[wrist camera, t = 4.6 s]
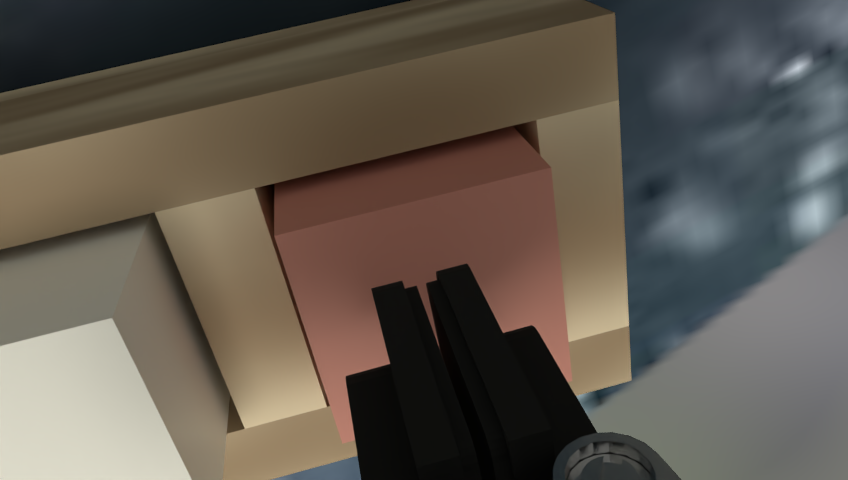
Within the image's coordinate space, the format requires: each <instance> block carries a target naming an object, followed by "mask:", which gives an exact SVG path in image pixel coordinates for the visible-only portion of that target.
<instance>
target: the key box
mask: <svg viewBox="0 0 848 480" xmlns="http://www.w3.org/2000/svg"><path fill="white" fill-rule="evenodd" d="M509 126H513V127H514V128H515V129H516V130H517V131H518V132H519V133H520V134H521V135H522V137H523V138H524V139H525V140H526V141H527V142H528V143H529V144H530V145H531V146H532V147H533V148H534V149H535V150H536V152H537V153H538V154H539V155H540V156H541V157H542V158H543V159H544V160H545V161H546V162H547V163H548V164H549V165H550V167H551V170H552V180H553V190H554V200H555V210H556V220H557V230H558V240H559V250H560V261H561V271H562V281H563V291H564V301H565V311H566V321H567V331H568V341H569V351H570V362H571V372H572V381H571V382H568V384H569V385H570V387H571V389H572V390H573V392H574V394H575V396H577V395H580V394H584V393H588V392H591V391H595V390H599V389H602V388H606V387H609V386H613V385H617V384H620V383H624V382H628V381H631V360H630V338H629V315H628V293H627V271H626V249H625V226H624V204H623V182H622V159H621V137H620V115H619V93H618V70H617V48H616V26H615V13H614V12H612V11H610V10H607V9H605V8H602V7H600V6H597V5H595V4H593V3H590V2H588V1H585V0H411V1H407V2H402V3H398V4H393V5H389V6H385V7H380V8H376V9H371V10H367V11H362V12H358V13H353V14H349V15H345V16H340V17H336V18H331V19H327V20H322V21H318V22H314V23H309V24H305V25H300V26H296V27H291V28H287V29H282V30H278V31H274V32H269V33H265V34H260V35H256V36H251V37H247V38H243V39H238V40H234V41H229V42H225V43H220V44H216V45H212V46H207V47H203V48H198V49H194V50H189V51H185V52H180V53H176V54H172V55H167V56H163V57H158V58H154V59H149V60H145V61H141V62H136V63H132V64H127V65H123V66H118V67H114V68H109V69H105V70H101V71H96V72H92V73H87V74H83V75H78V76H74V77H70V78H65V79H61V80H56V81H52V82H47V83H43V84H38V85H34V86H30V87H25V88H21V89H16V90H12V91H7V92H3V93H0V250H1V249H6V248H10V247H14V246H18V245H22V244H26V243H30V242H34V241H39V240H43V239H47V238H51V237H55V236H59V235H63V234H67V233H72V232H76V231H80V230H84V229H88V228H92V227H96V226H101V225H105V224H109V223H113V222H117V221H121V220H125V219H129V218H134V217H138V216H142V215H146V214H150V213H154V212H155V215H156V217H157V220H158V222H159V224H160V227H161V229H162V232H163V234H164V236H165V239H166V241H167V244H168V246H169V248H170V251H171V253H172V255H173V258H174V260H175V263H176V265H177V267H178V270H179V272H180V275H181V277H182V279H183V282H184V284H185V287H186V289H187V291H188V294H189V296H190V299H191V301H192V303H193V306H194V308H195V311H196V313H197V315H198V318H199V320H200V323H201V325H202V327H203V330H204V332H205V335H206V337H207V339H208V342H209V344H210V347H211V349H212V351H213V354H214V356H215V359H216V361H217V363H218V366H219V368H220V370H221V373H222V375H223V378H224V380H225V382H226V385H227V387H228V390H229V392H230V402H229V413H228V424H227V436H226V447H225V458H224V469H223V480H271V479H274V478H278V477H282V476H285V475H289V474H292V473H296V472H300V471H303V470H307V469H311V468H314V467H318V466H322V465H325V464H329V463H333V462H336V461H340V460H343V459H347V458H351V457H354V456H358V455H357V449H356V442H355V440H354V441H351V442H347V443H343V444H342V441H341V438H340V435H339V432H338V429H337V426H336V423H335V420H334V417H333V414H332V410H331V407H330V404H329V401H328V398H327V395H326V392H325V389H324V386H323V383H322V380H321V377H320V374H319V371H318V368H317V365H316V362H315V359H314V356H313V353H312V350H311V347H310V344H309V340H308V337H307V334H306V331H305V328H304V325H303V322H302V319H301V316H300V313H299V310H298V307H297V304H296V301H295V298H294V295H293V292H292V289H291V286H290V283H289V280H288V277H287V274H286V270H285V267H284V264H283V261H282V258H281V255H280V252H279V249H278V246H277V243H276V240H275V237H274V193H275V183H278V182H282V181H286V180H291V179H295V178H299V177H303V176H307V175H311V174H315V173H319V172H324V171H328V170H332V169H336V168H340V167H344V166H348V165H352V164H357V163H361V162H365V161H369V160H373V159H377V158H381V157H386V156H390V155H394V154H398V153H402V152H406V151H410V150H414V149H419V148H423V147H427V146H431V145H435V144H439V143H443V142H448V141H452V140H456V139H460V138H464V137H468V136H472V135H476V134H481V133H485V132H489V131H493V130H497V129H501V128H505V127H509Z"/></svg>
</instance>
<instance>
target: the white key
mask: <svg viewBox="0 0 848 480" xmlns="http://www.w3.org/2000/svg"><path fill="white" fill-rule="evenodd" d="M229 402H230V392H229V390H228V387H227V385H226V382H225V380H224V378H223V375H222V373H221V370H220V368H219V366H218V363H217V361H216V359H215V356H214V354H213V351H212V349H211V347H210V344H209V342H208V339H207V337H206V335H205V332H204V330H203V327H202V325H201V323H200V320H199V318H198V315H197V313H196V311H195V308H194V306H193V303H192V301H191V299H190V296H189V294H188V291H187V289H186V287H185V284H184V282H183V279H182V277H181V275H180V272H179V270H178V267H177V265H176V263H175V260H174V258H173V255H172V253H171V251H170V248H169V246H168V244H167V241H166V239H165V236H164V234H163V232H162V229H161V227H160V224H159V222H158V220H157V217H156V215H155V212H154V213H150V214H146V215H142V216H138V217H134V218H129V219H125V220H121V221H117V222H113V223H109V224H105V225H101V226H96V227H92V228H88V229H84V230H80V231H76V232H72V233H67V234H63V235H59V236H55V237H51V238H47V239H43V240H39V241H34V242H30V243H26V244H22V245H18V246H14V247H10V248H6V249H1V250H0V480H223V469H224V458H225V447H226V436H227V424H228V413H229Z"/></svg>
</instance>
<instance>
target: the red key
mask: <svg viewBox="0 0 848 480" xmlns="http://www.w3.org/2000/svg"><path fill="white" fill-rule="evenodd" d="M274 237H275V240H276V243H277V246H278V249H279V252H280V255H281V258H282V261H283V264H284V267H285V270H286V274H287V277H288V280H289V283H290V286H291V289H292V292H293V295H294V298H295V301H296V304H297V307H298V310H299V313H300V316H301V319H302V322H303V325H304V328H305V331H306V334H307V337H308V340H309V344H310V347H311V350H312V353H313V356H314V359H315V362H316V365H317V368H318V371H319V374H320V377H321V380H322V383H323V386H324V389H325V392H326V395H327V398H328V401H329V404H330V407H331V410H332V414H333V417H334V420H335V423H336V426H337V429H338V432H339V435H340V438H341V441H342V444H343V443H347V442H351V441H354V440H355V436H354V430H353V424H352V417H351V411H350V405H349V398H348V392H347V386H346V376H348V375H351V374H355V373H359V372H362V371H366V370H370V369H373V368H377V367H381V366H384V365H388V364H390V362H389V358H388V354H387V350H386V346H385V342H384V338H383V334H382V330H381V326H380V322H379V318H378V314H377V310H376V306H375V302H374V298H373V294H372V290H371V288H375V287H379V286H383V285H386V284H390V283H394V282H398V281H402V282H403V284H404V287H405V288H408V287H412V286H417V288H418V290H419V293H420V296H421V299H422V302H423V304H424V307H425V310H426V313H427V315H428V318H429V321H430V324H431V326H432V329H433V332H434V335H435V338H436V340H437V343H438V339H437V334H436V329H435V325H434V320H433V315H432V311H431V306H430V301H429V297H428V292H427V287H426V283H427V282H431V281H435V280H437V278H436V271H439V270H443V269H447V268H451V267H455V266H458V265H462V264H466V263H467V264H468V265H469V267H470V269H471V271H472V273H473V275H474V277H475V279H476V281H477V283H478V284H479V286H480V288H481V290H482V292H483V294H484V296H485V298H486V300H487V302H488V304H489V306H490V308H491V310H492V312H493V314H494V316H495V318H496V320H497V322H498V324H499V326H500V328H501V330H502V332H503V333H505V332H508V331H512V330H516V329H519V328H523V327H527V326H530V325H532V326H534V327H535V328H536V329H537V331H538V332H539V334H540V336H541V337H542V339H543V341H544V342H545V344H546V346H547V348H548V349H549V351H550V353H551V354H552V356H553V358H554V360H555V361H556V363H557V365H558V366H559V368H560V370H561V372H562V373H563V375H564V377H565V378H566V380H567V382H571V381H572V372H571V362H570V351H569V341H568V331H567V321H566V311H565V301H564V291H563V281H562V271H561V261H560V250H559V240H558V230H557V220H556V210H555V200H554V190H553V180H552V170H551V167H550V165H549V164H548V163H547V162H546V161H545V160H544V159H543V158H542V157H541V156H540V155H539V154H538V153H537V152H536V150H535V149H534V148H533V147H532V146H531V145H530V144H529V143H528V142H527V141H526V140H525V139H524V138H523V137H522V135H521V134H520V133H519V132H518V131H517V130H516V129H515V128H514V127H513V126H509V127H505V128H501V129H497V130H493V131H489V132H485V133H481V134H476V135H472V136H468V137H464V138H460V139H456V140H452V141H448V142H443V143H439V144H435V145H431V146H427V147H423V148H419V149H414V150H410V151H406V152H402V153H398V154H394V155H390V156H386V157H381V158H377V159H373V160H369V161H365V162H361V163H357V164H352V165H348V166H344V167H340V168H336V169H332V170H328V171H324V172H319V173H315V174H311V175H307V176H303V177H299V178H295V179H291V180H286V181H282V182H278V183H275V193H274ZM438 346H439V344H438ZM439 349H440V348H439Z"/></svg>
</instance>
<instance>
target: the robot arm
mask: <svg viewBox="0 0 848 480" xmlns="http://www.w3.org/2000/svg"><path fill="white" fill-rule="evenodd" d="M436 278H437V280H435V281H431V282H427V283H426V287H427V292H428V297H429V301H430V306H431V311H432V315H433V320H434V325H435V329H436V334H437V339H438V343H437V340H436V338H435V335H434V332H433V329H432V326H431V324H430V321H429V318H428V315H427V313H426V310H425V307H424V304H423V302H422V299H421V296H420V293H419V290H418V288H417V286H412V287H408V288H405V287H404V284H403V282H402V281H398V282H394V283H390V284H386V285H383V286H379V287H375V288H371V290H372V294H373V298H374V302H375V306H376V310H377V314H378V318H379V322H380V326H381V330H382V334H383V338H384V342H385V346H386V350H387V354H388V358H389V362H390V364H388V365H384V366H381V367H377V368H373V369H370V370H366V371H362V372H359V373H355V374H351V375H348V376H346V386H347V392H348V398H349V405H350V411H351V417H352V424H353V430H354V436H355V442H356V449H357V455H358V461H359V467H360V474H361V480H681V479H680V478H679V477H678V475H677V474H676V473H675V472H674V471H673V470H672V469H671V468H670V467H669V465H668V464H667V463H666V462H665V461H664V460H663V459H662V458H661V457H660V456H659V454H657V453H656V452H655V451H654V450H653V449H652V448H650V447H649V446H648V445H647V444H646V443H644V442H642V441H640V440H637V439H635V438H633V437H631V436H628V435H623V434H618V433H613V432H610V433H597V432H596V430H595V428H594V427H593V425H592V423H591V421H590V420H589V418H588V416H587V414H586V413H585V411H584V409H583V408H582V406H581V404H580V402H579V401H578V399H577V397H576V396H575V394H574V392H573V390H572V389H571V387H570V385H569V384H568V382H567V380H566V378H565V377H564V375H563V373H562V372H561V370H560V368H559V366H558V365H557V363H556V361H555V360H554V358H553V356H552V354H551V353H550V351H549V349H548V348H547V346H546V344H545V342H544V341H543V339H542V337H541V336H540V334H539V332H538V331H537V329H536V328H535V327H534V326H532V325H530V326H527V327H523V328H519V329H516V330H512V331H508V332H505V333H503V332H502V330H501V328H500V326H499V324H498V322H497V320H496V318H495V316H494V314H493V312H492V310H491V308H490V306H489V304H488V302H487V300H486V298H485V296H484V294H483V292H482V290H481V288H480V286H479V284H478V283H477V281H476V279H475V277H474V275H473V273H472V271H471V269H470V267H469V265H468V264H467V263H466V264H462V265H458V266H455V267H451V268H447V269H443V270H439V271H436ZM438 344H439V346H438ZM439 348H440V349H439Z"/></svg>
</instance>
